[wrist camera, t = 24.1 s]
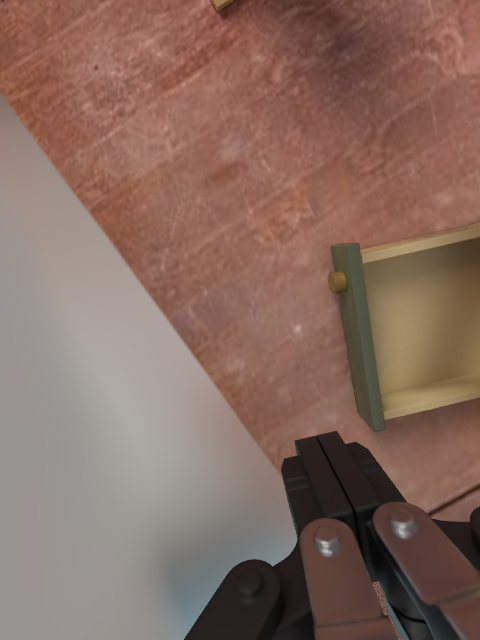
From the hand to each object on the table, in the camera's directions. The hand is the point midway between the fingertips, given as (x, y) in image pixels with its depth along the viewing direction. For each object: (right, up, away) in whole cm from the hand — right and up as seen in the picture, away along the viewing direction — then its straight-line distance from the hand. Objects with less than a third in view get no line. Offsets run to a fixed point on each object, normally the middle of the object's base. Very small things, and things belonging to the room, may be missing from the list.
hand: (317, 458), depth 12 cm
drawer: (+12, +5, +13) cm, 18 cm away
